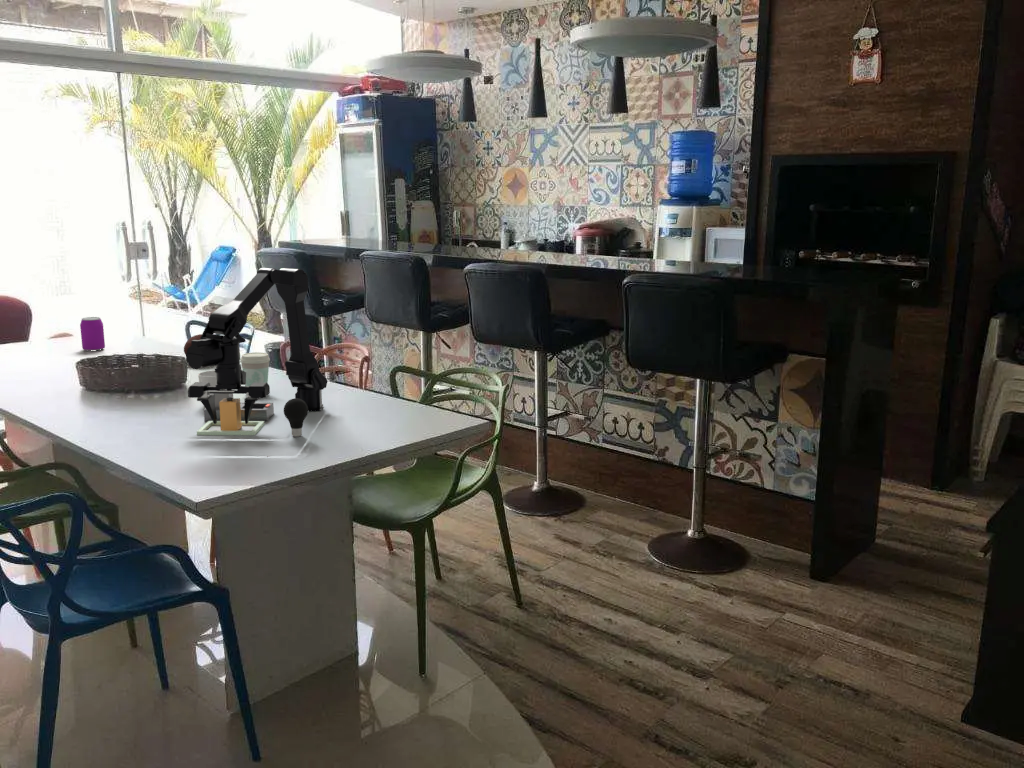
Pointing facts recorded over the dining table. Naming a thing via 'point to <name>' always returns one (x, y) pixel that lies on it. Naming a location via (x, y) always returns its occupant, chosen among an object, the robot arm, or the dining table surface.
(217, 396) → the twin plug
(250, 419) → the strip
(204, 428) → the tray
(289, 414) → the light bulb
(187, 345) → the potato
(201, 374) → the cup
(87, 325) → the beverage can
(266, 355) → the coffee cup
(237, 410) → the plug
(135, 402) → the dining table surface
